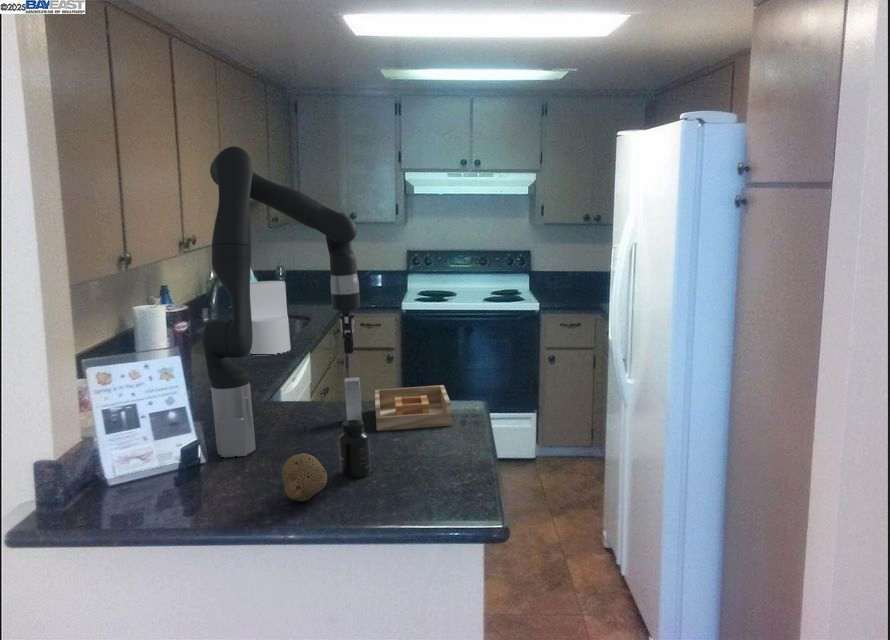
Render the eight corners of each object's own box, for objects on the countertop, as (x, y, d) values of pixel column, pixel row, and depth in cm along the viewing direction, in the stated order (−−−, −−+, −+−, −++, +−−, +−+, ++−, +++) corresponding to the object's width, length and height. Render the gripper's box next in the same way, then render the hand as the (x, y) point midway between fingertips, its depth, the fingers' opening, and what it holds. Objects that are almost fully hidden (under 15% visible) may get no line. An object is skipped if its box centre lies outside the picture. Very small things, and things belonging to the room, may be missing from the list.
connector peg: (361, 423, 207) (359, 380, 205) (347, 424, 206) (344, 381, 204) (362, 418, 211) (359, 377, 209) (347, 419, 210) (344, 378, 208)
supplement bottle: (334, 477, 168) (330, 425, 166) (352, 466, 174) (348, 416, 172) (360, 481, 165) (356, 428, 163) (377, 470, 171) (373, 419, 169)
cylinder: (244, 349, 315) (238, 283, 311) (285, 344, 322) (280, 279, 318) (252, 357, 300) (246, 287, 295) (295, 351, 307) (289, 283, 302)
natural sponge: (330, 490, 160) (327, 445, 158) (325, 508, 151) (322, 460, 150) (287, 493, 160) (284, 448, 158) (280, 510, 151) (276, 463, 149)
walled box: (452, 425, 201) (451, 403, 200) (376, 430, 199) (375, 409, 198) (444, 404, 221) (443, 385, 220) (376, 409, 219) (374, 389, 218)
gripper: (359, 293, 196) (363, 354, 199) (359, 286, 210) (363, 343, 213) (330, 295, 195) (334, 356, 198) (332, 288, 209) (336, 345, 212)
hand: (349, 350), depth 205 cm, fingers open, 8 cm apart
